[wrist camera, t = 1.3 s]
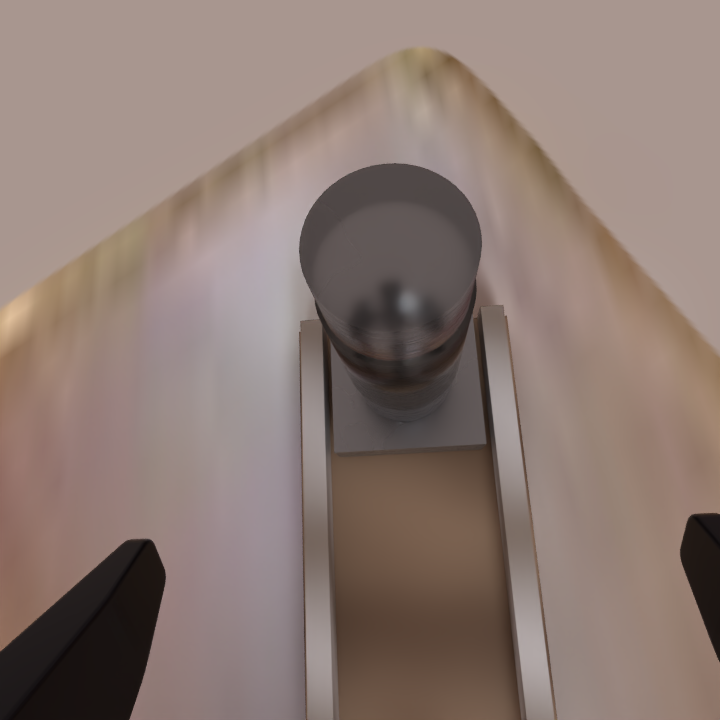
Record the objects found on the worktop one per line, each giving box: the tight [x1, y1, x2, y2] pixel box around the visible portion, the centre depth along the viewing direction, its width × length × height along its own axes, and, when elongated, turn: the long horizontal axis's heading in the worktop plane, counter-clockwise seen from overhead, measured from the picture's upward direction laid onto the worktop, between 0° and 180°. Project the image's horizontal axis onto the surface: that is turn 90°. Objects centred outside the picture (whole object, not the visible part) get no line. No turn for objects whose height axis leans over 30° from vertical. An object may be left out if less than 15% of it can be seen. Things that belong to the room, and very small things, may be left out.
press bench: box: [299, 305, 557, 720], centre depth 18 cm, size 23×8×4 cm, turn 3°
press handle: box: [299, 163, 486, 457], centre depth 15 cm, size 5×5×11 cm
